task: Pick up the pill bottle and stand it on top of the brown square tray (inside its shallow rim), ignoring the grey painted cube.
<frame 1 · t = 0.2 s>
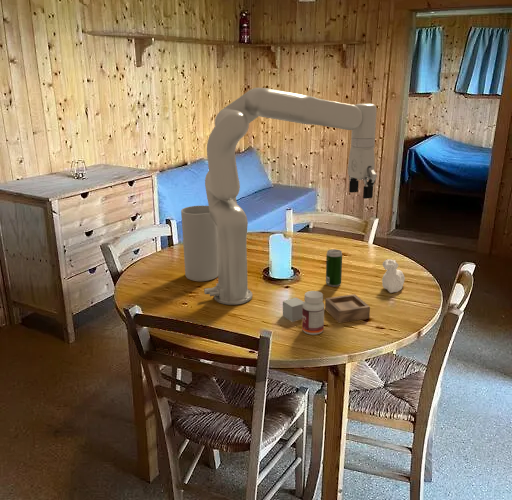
hand: (360, 195, 174), 31 cm above the table, fingers open, 9 cm apart
brown square tray: (346, 313, 160), on the table
pill bottle: (312, 331, 150), on the table
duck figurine: (391, 289, 178), on the table
grey cube: (294, 317, 159), on the table
cylinder vase: (202, 276, 192), on the table
beer can: (333, 284, 183), on the table
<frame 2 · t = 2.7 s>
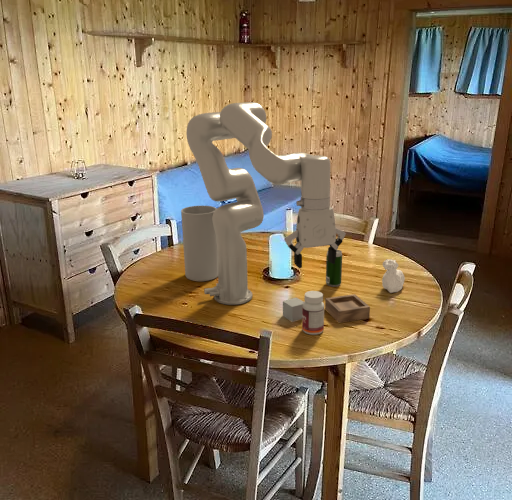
hand: (315, 264, 143), 20 cm above the table, fingers open, 9 cm apart
nothing on the table moved.
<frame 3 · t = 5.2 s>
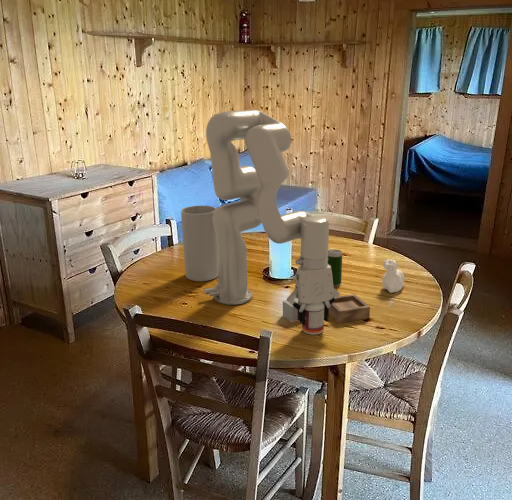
hand: (313, 320, 149), 3 cm above the table, fingers closed on pill bottle, 6 cm apart
pill bottle: (312, 331, 150), on the table, touching gripper
everything else where it was.
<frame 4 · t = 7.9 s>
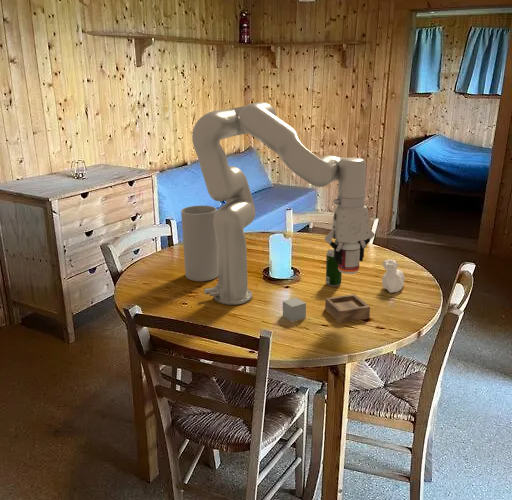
hand: (348, 260, 154), 17 cm above the table, fingers closed on pill bottle, 6 cm apart
pill bottle: (348, 271, 155), point 14 cm above the table, touching gripper
everything else where it was.
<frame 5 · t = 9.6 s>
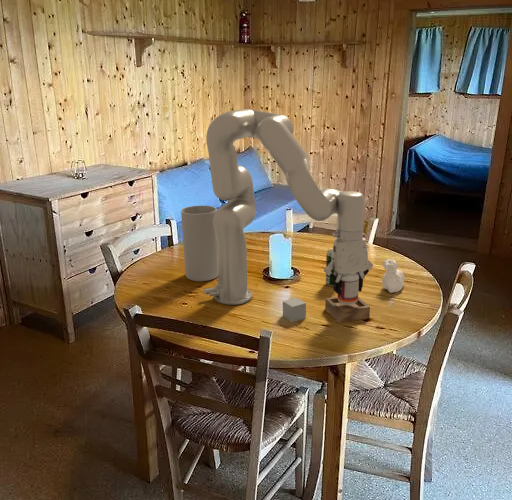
hand: (347, 291, 157), 7 cm above the table, fingers closed on pill bottle, 6 cm apart
pill bottle: (347, 301, 158), point 4 cm above the table, touching gripper
everything else where it was.
when the fingers open (6 cm above the table, at t = 11.1 s): pill bottle stays where it is, resting on brown square tray.
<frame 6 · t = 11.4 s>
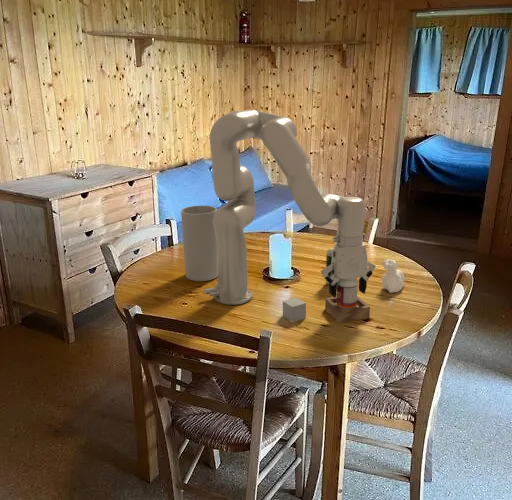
hand: (347, 293, 158), 7 cm above the table, fingers open, 9 cm apart
pill bottle: (346, 306, 159), point 2 cm above the table, touching brown square tray
everything else where it was.
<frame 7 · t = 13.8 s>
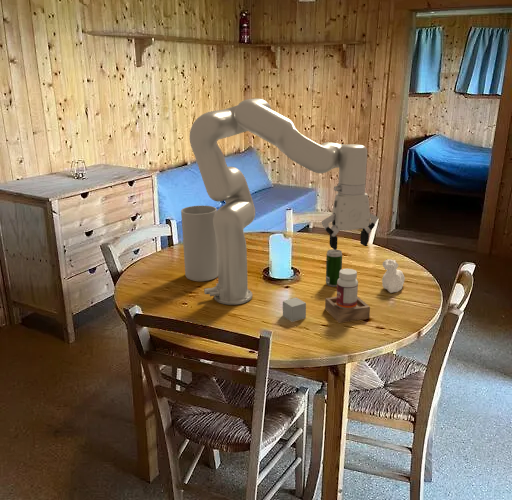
hand: (348, 246, 153), 22 cm above the table, fingers open, 9 cm apart
nothing on the table moved.
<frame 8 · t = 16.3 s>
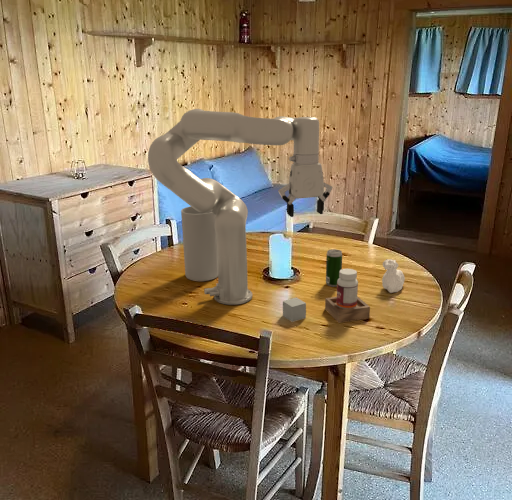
hand: (305, 214, 162), 28 cm above the table, fingers open, 9 cm apart
nothing on the table moved.
at the end: pill bottle inside the target area on the brown square tray (0.1 cm from its centre), point 2.3 cm above the brown square tray's base; pill bottle tilted 0°; the gripper is holding nothing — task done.
